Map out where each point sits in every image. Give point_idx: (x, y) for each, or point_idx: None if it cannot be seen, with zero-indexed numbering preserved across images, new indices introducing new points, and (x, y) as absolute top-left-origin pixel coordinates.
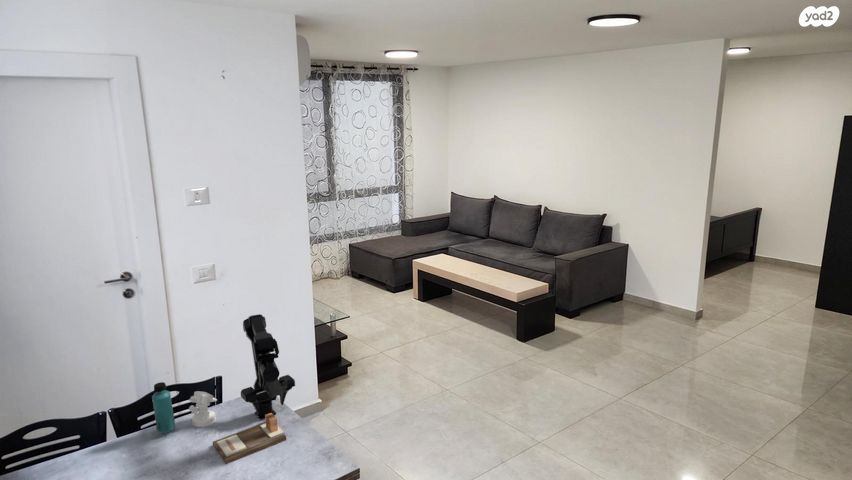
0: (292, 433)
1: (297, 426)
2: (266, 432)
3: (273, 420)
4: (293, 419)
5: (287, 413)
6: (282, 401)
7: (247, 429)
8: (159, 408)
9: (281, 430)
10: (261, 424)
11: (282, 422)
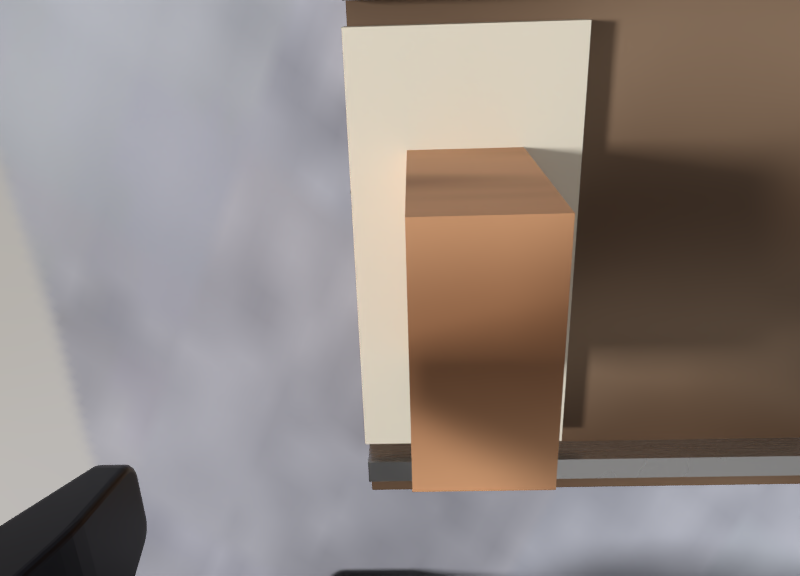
0: (203, 52)
1: (83, 185)
2: (576, 214)
3: (491, 207)
4: (91, 377)
5: None
6: (41, 546)
7: (744, 453)
8: None
9: (356, 108)
10: None
11: (242, 398)
